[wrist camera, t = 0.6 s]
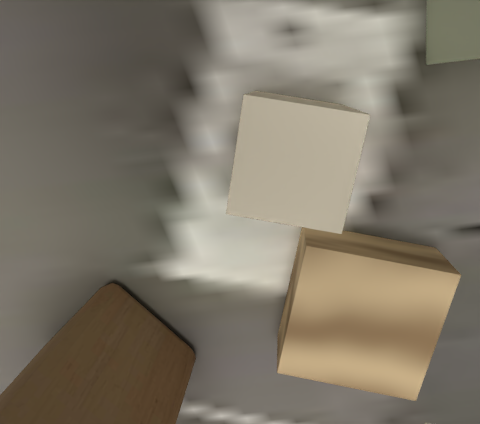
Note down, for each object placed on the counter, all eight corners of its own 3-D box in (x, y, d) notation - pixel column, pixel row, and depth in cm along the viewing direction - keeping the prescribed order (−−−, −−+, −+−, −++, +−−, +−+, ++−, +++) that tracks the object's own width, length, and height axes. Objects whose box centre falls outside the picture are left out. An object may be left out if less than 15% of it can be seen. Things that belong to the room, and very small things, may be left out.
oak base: (302, 221, 32) (306, 245, 27) (434, 246, 32) (461, 275, 27) (277, 333, 35) (277, 372, 30) (397, 357, 35) (415, 400, 30)
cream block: (255, 90, 30) (243, 94, 20) (341, 104, 29) (370, 114, 20) (242, 174, 31) (225, 213, 22) (323, 187, 31) (341, 234, 22)
